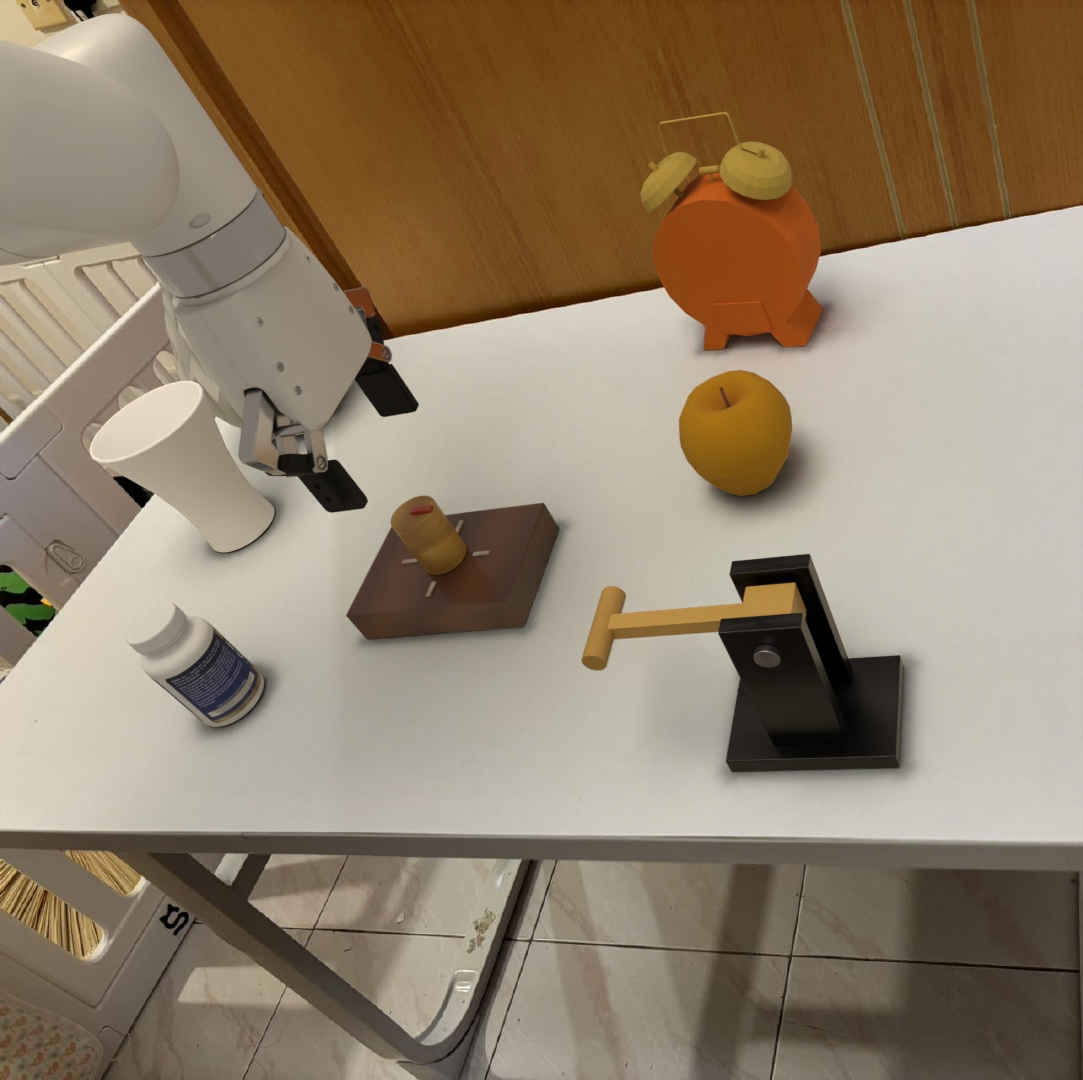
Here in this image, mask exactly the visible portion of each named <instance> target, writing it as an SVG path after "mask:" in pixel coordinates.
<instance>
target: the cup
mask: <svg viewBox="0 0 1083 1080" xmlns="http://www.w3.org/2000/svg"><path fill="white" fill-rule="evenodd" d="M89 455H90V457H91V459H92V460H93V461H94V462H97V463H98V464H100V465H102V466H105V467H106V468H108V469H110V470H111V471H113V472H115V473H117V474H119V475H121V476H123V477H124V478H126V479H127V480H130V481H132V482H133V483H135V484H137V485H139V486H140V487H142V488H144V489H146V490H147V491H149V492H151V493H153V494H155V495H156V496H157V497H159V498H160V499H161V500H163V501H164V502H166V503H167V504H168V505H169V506H170V507H172V508H174V510H177V511H178V512H179V513H180V514H181V515H182V516H183V517H184V518H185V519H186V520H187V521H188V522H190V523H191V524H192V525H193V526H194V527H195V528H196V529H197V530H198V531H199V533H201V535H202V536H203V537H204V539H205V541H206V542H207V543H208V544H209V546H210V547H211V548H212V550H213V551H215V552H217V553H229V552H234V551H237V550H240V549H242V548H244V547H245V546H248V545H249V544H251V543H253V541H255V540H257V539H258V538H259V537H260V536H261V535H262V534H264V532H265V531H266V530H267V529H268V528H269V526H270V525H271V523H272V521H273V520H274V517H275V514H276V513H275V507H274V505H273V504H272V503H270V502H269V501H268V500H267V499H266V497H264V496H263V495H262V494H261V493H260V492H259V491H258V490H257V489H256V488H255V487H253V484H251V483H250V481H249V480H248V479H247V477H246V476H245V475H244V473H243V472H242V471H241V468H240V467H239V466H238V464H237V462H236V461H235V459H234V458H233V456H232V454H231V452H230V450H229V448H228V447H227V445H226V443H225V440H224V438H223V436H222V433H221V430H220V428H219V425H218V424H217V421H216V419H215V415H213V414H212V411H211V409H210V406H209V404H208V401H207V398H206V396H205V393H204V391H203V389H202V387H201V386H200V384H198V383H195V382H192V381H179V382H178V381H175V382H170V383H167V384H164V385H161V386H159V387H156V388H153V389H152V390H150V391H148V392H145V393H144V394H142V395H140V396H138V397H136V399H133V400H132V401H130V402H129V403H127V404H126V405H125V406H123V407H122V408H121V409H119V410H118V411H117V412H115V413H114V414H113V415H112V416H111V417H110V418H109V419H108V420H107V421H106V422H105V423H104V424H103V425H102V426H101V427H100V429H99V430H98V431H97V432H96V433H95V435H94V437H93V439H92V441H91V443H90V446H89Z"/></svg>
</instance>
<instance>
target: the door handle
mask: <svg viewBox="0 0 1083 1080" xmlns="http://www.w3.org/2000/svg"><path fill="white" fill-rule="evenodd" d="M626 600H627V594H626V591H624V590H623V589H622V588H620V587H618V586H615V585H608V586H605V587H604V588H603V589H602V590H601V594H600V597H599V600H598V603H597V605H596V606H597V607H596V609H595V613H594V616H593V620H592V623H591V626H590V630H589V633H588V636H587V640H586V643H585V646H584V649H583V653H582V656H581V663H582V665H583V666H584V668H587V669H589V670H590V671H591V670H592V671H595V672H596V671H598V672H599V671H603V670H605V669H606V668H607V667H608V663H609V660H610V657H611V653H612V650H613V645H614V642H615V640H626V639H627V640H628V639H638V638H639V639H640V638H652V637H666V636H668V637H669V636H680V635H695V634H708V633H718V631H719V626H720V621H721V619H725V618H738V617H751V616H764V615H777V614H790V613H802V614H803V616H804V619H805V618H806V608H805V606H804V603H803V601H802V598H801V596H800V593H799V591H798V588H797V586H796V583H783V584H772V585H761V586H749V587H746V588H745V594H744V599H743V603H742V602H741V603H731V604H719V605H718V604H717V605H705V606H693V607H683V608H671V609H670V608H669V609H668V608H667V609H655V610H645V611H632V612H623V610H624V606H625V603H626Z"/></svg>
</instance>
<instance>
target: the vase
mask: <svg viewBox="0 0 1083 1080" xmlns="http://www.w3.org/2000/svg"><path fill="white" fill-rule="evenodd" d="M157 283H158V286H159V287H160V289H161V291H162V292H161V297H162V304H163V307H164V324H165V332H166V334H167V337H168V341H169V342H170V345H171V346H170V347H171V349H172V351H173V354H174V358H173V359H174V365H175V372H176V379H177V382H179V381H192V382H195V383H198V384H200V386H201V387H202V389H203V391H204V393H205V396H206V398H207V401H208V404H209V406H210V409H211V411H212V414H213V416H214V417H216V418H218V419H220V420H222V421H224V422H225V423H226V424H229V425H230V426H233V427H236V428H238V429H242V421H243V420H242V418H241V417H240V416H239V414H238V413H237V412H236V411H235V409H234V408H233V407H232V405H231V404H230V403H229V401H228V400H227V399H226V397H225V396H224V395H223V393H222V392H221V390H220V389H219V388H218V386H217V385H216V383H215V382H214V381H213V379H212V378H211V376H210V375H209V373H208V372H207V370H206V369H205V367H204V366H203V364H202V363H201V361H200V359H199V358H198V356H197V354H196V353H195V351H194V350H193V348H192V346H191V344H190V343H189V341H188V339H187V337H186V335H185V333H184V332H183V330H182V328H181V326H180V324H179V321H178V319H177V317H176V315H175V313H174V310H175V308H176V307H177V305H178V304H179V302H178V301H177V299H176V298H175V297H174V296H173V294H172V293H171V292H170V291H169V289H168V288H167V287H166V286H165V284H164V283H163V282H162V281H161V280H160V279H159V280H158V281H157ZM290 421H291V425H294V424H300V422H299V421H297V422H294V421H293V420H291V419H290ZM273 440H276V439H275V437H273V438H272V441H273Z"/></svg>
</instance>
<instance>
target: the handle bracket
mask: <svg viewBox="0 0 1083 1080" xmlns="http://www.w3.org/2000/svg"><path fill="white" fill-rule="evenodd" d="M728 574H729V577H730V580H731V582H732V583H733V585H734V588H735V590H736V593H737V594H738V597H739V599H740V601H741V603H743V599H744V594H745V588H746V587H749V586H761V585H772V584H783V583H796V586H797V588H798V591H799V593H800V596H801V598H802V601H803V603H804V606H805V608H806V618H805V619H804V616H803V614H802V613H790V614H777V615H764V616H751V617H738V618H725V619H721V621H720V626H719V631H718V632H717V634H718V636H719V639H720V640H721V642H722V645H723V646H724V649H725V651H726V652H727V655H728V656H729V658H730V661H731V662H732V664H733V667H734V669H735V671H736V673H737V675H738V677H739V682H738V687H737V694H736V700H735V704H734V712H733V716H732V722H731V729H730V733H729V740H728V746H727V751H726V758H725V763H726V765H727V766H728V768H729V770H730V772H732V773H738V772H740V773H741V772H743V773H744V772H777V771H778V772H779V771H782V772H783V771H784V772H785V771H818V770H819V771H820V770H822V771H823V770H856V769H857V770H859V769H862V770H863V769H896V768H897V769H898V768H900V766H901V765H900V763H901V744H902V743H901V742H902V741H901V739H902V719H903V717H902V715H903V697H904V696H903V694H904V693H903V690H904V673H905V672H904V668H905V665H904V663H903V659H902V657H901V655H900V654H898V655H897V654H896V655H895V654H894V655H881V656H863V657H862V656H861V657H849V656H848V653H847V651H846V649H845V646H844V643H843V640H842V637H841V634H840V632H839V629H838V627H837V624H836V621H835V618H834V615H833V613H832V610H831V606H830V605H829V602H828V598H827V596H826V594H825V592H824V589H823V586H822V583H821V580H820V577H819V575H818V572H817V569H816V566H815V564H814V561H813V559H812V556H811V554H810V553H802V554H792V555H783V556H782V555H781V556H772V557H771V556H770V557H761V558H753V559H751V558H749V559H740V560H732V561H731V565H730V570H729V573H728Z"/></svg>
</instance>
